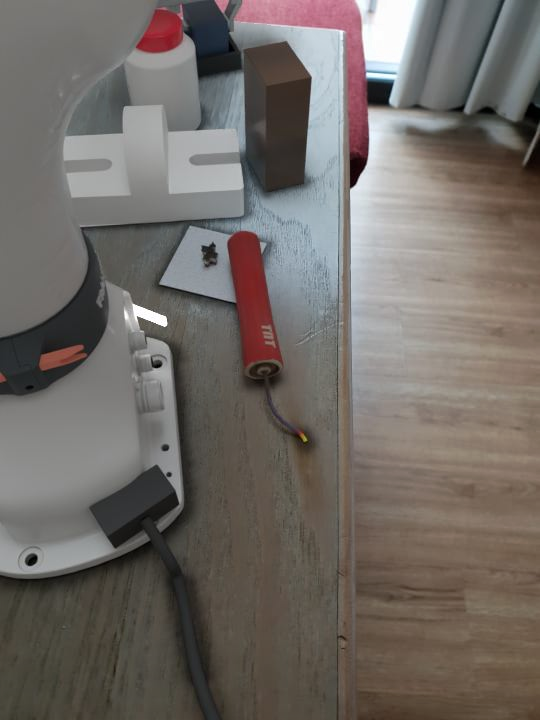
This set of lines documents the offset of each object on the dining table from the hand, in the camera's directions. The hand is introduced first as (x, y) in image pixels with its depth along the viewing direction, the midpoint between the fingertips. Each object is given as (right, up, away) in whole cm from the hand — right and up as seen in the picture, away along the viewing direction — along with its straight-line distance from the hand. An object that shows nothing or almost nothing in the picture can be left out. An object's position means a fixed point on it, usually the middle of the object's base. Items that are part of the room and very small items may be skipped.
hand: (206, 34), depth 76 cm
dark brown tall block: (+8, -20, -10) cm, 24 cm away
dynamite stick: (+6, -29, -19) cm, 35 cm away
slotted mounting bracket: (-4, -23, -12) cm, 26 cm away
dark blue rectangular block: (0, -1, +1) cm, 1 cm away
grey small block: (+3, -31, -18) cm, 36 cm away
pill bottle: (-4, -13, -5) cm, 14 cm away
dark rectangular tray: (0, -1, +2) cm, 3 cm away
